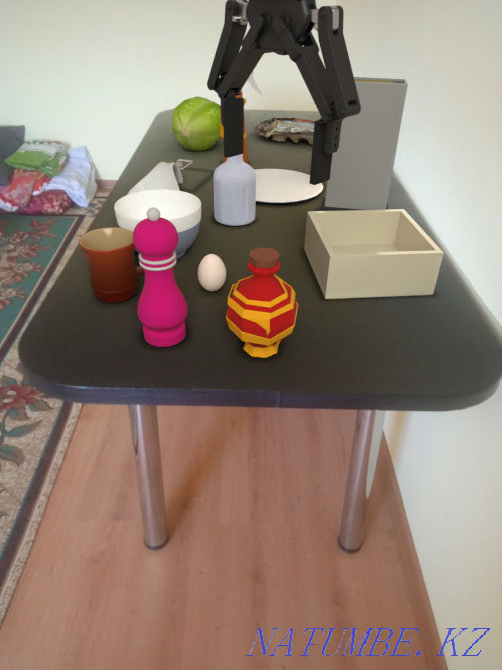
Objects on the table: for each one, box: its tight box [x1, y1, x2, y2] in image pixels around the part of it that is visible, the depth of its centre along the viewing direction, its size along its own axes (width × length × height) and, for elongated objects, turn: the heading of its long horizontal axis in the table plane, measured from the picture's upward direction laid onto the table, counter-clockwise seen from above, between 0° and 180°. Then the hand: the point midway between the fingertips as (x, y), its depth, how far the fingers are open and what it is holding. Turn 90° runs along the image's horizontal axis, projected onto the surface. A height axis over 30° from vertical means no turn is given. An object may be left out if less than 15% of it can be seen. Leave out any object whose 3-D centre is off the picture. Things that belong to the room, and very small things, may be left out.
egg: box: [197, 253, 227, 292], centre depth 87 cm, size 5×5×7 cm
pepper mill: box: [133, 207, 189, 348], centre depth 72 cm, size 7×7×20 cm
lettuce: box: [171, 95, 222, 152], centre depth 155 cm, size 15×23×16 cm
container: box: [320, 76, 409, 211], centre depth 109 cm, size 7×18×30 cm, turn 80°
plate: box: [254, 168, 324, 205], centre depth 131 cm, size 25×25×1 cm
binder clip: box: [174, 158, 194, 175], centre depth 135 cm, size 6×4×6 cm, turn 162°
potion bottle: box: [225, 247, 299, 359], centre depth 71 cm, size 10×10×15 cm
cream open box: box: [303, 208, 445, 300], centre depth 93 cm, size 19×19×8 cm
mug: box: [78, 226, 145, 304], centre depth 85 cm, size 12×9×10 cm
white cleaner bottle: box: [213, 97, 257, 227], centre depth 108 cm, size 9×9×25 cm
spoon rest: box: [126, 161, 184, 195], centre depth 120 cm, size 24×12×7 cm, turn 173°
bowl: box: [113, 189, 202, 260], centre depth 98 cm, size 16×16×10 cm
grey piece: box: [253, 117, 316, 146], centre depth 169 cm, size 30×22×5 cm
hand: (274, 167), depth 61 cm, fingers open, 13 cm apart
